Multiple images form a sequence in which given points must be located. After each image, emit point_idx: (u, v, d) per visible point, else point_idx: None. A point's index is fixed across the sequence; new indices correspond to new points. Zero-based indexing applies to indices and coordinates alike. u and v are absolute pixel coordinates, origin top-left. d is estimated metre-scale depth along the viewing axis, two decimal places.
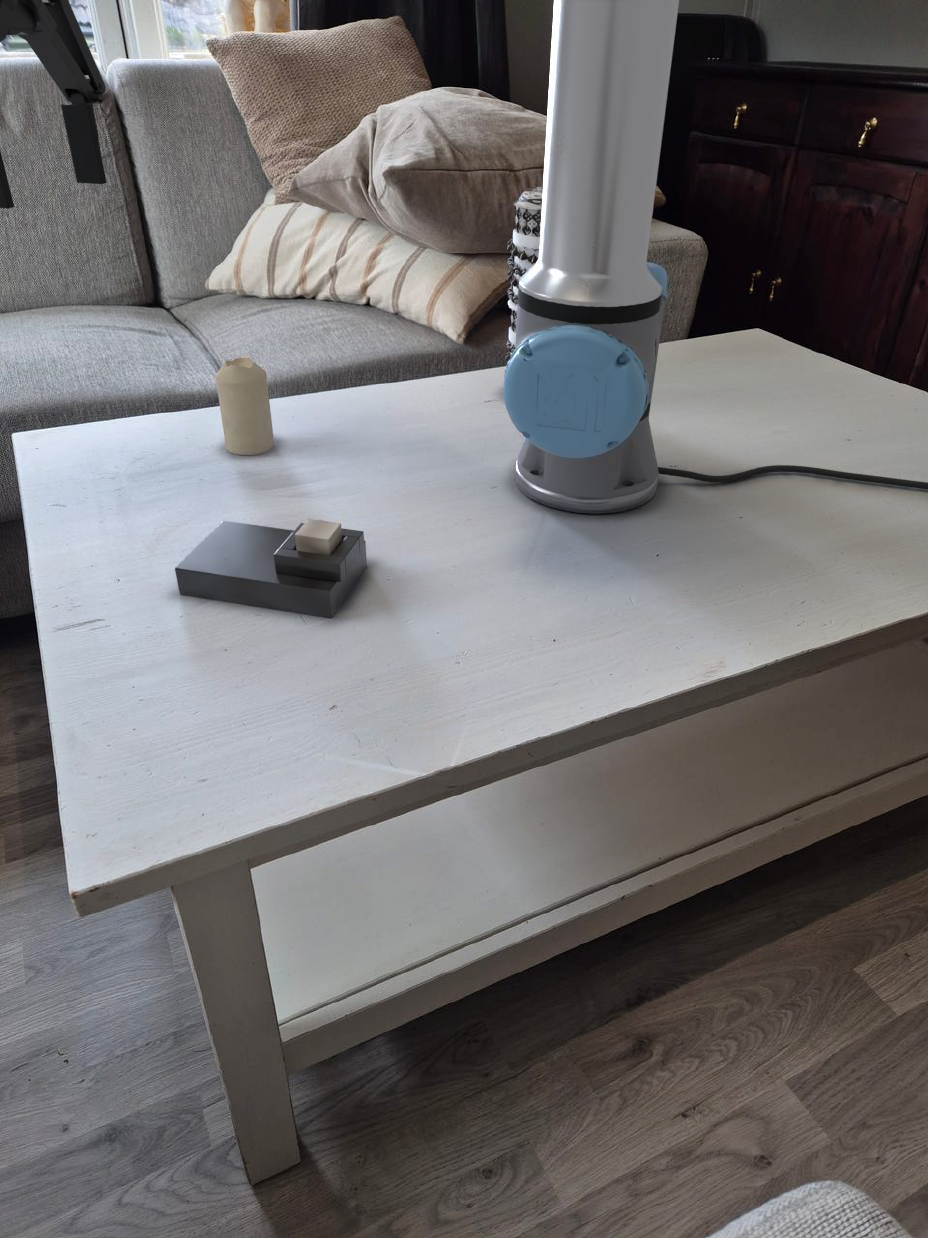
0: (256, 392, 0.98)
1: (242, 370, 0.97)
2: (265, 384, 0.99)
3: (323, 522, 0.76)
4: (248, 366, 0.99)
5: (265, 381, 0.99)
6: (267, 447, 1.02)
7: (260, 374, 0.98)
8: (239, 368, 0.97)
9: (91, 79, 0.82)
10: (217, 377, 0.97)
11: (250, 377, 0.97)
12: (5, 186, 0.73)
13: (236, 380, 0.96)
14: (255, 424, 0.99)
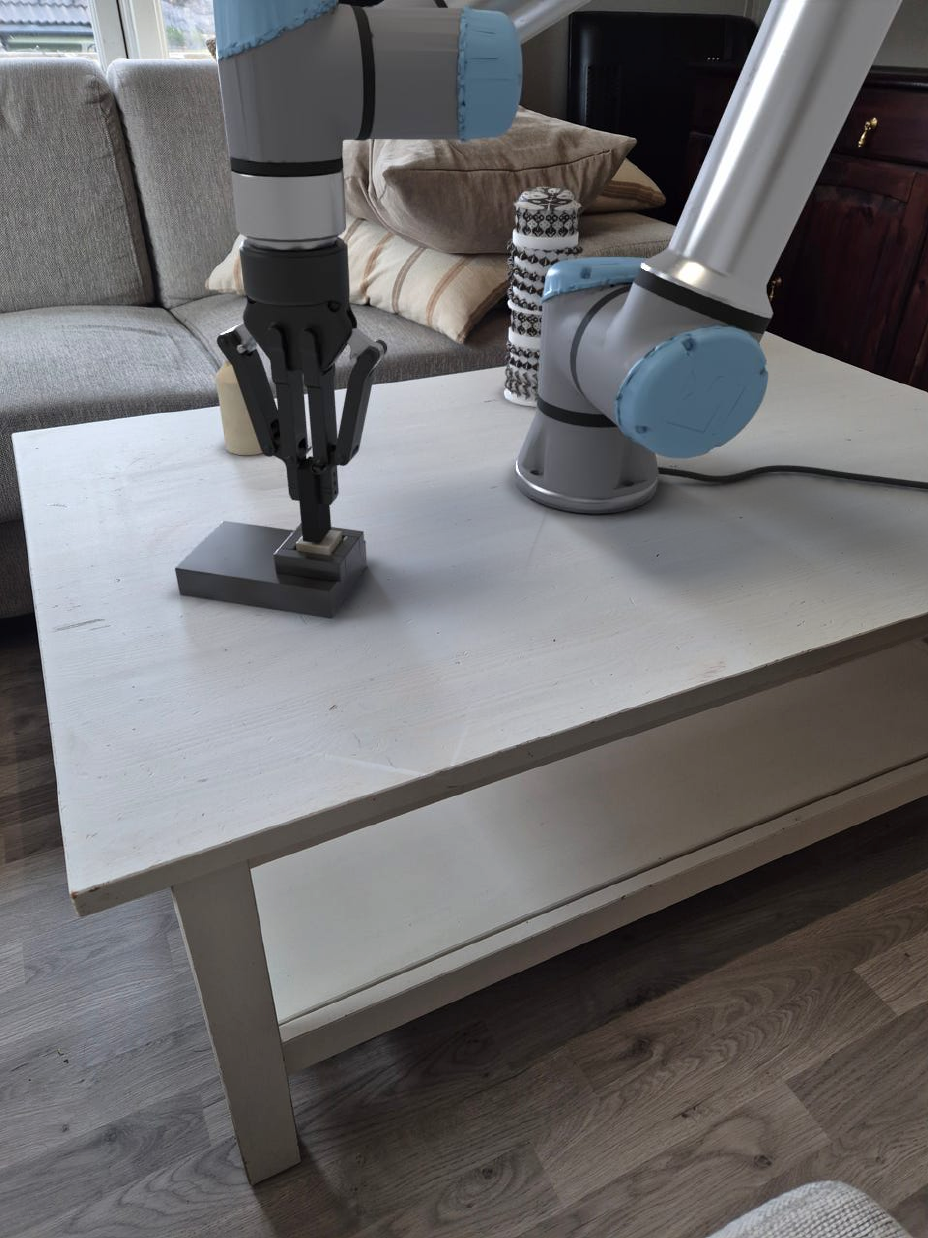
0: None
1: None
2: None
3: None
4: None
5: None
6: None
7: None
8: None
9: (337, 444, 0.69)
10: (217, 377, 0.97)
11: None
12: (304, 524, 0.73)
13: (236, 380, 0.96)
14: None
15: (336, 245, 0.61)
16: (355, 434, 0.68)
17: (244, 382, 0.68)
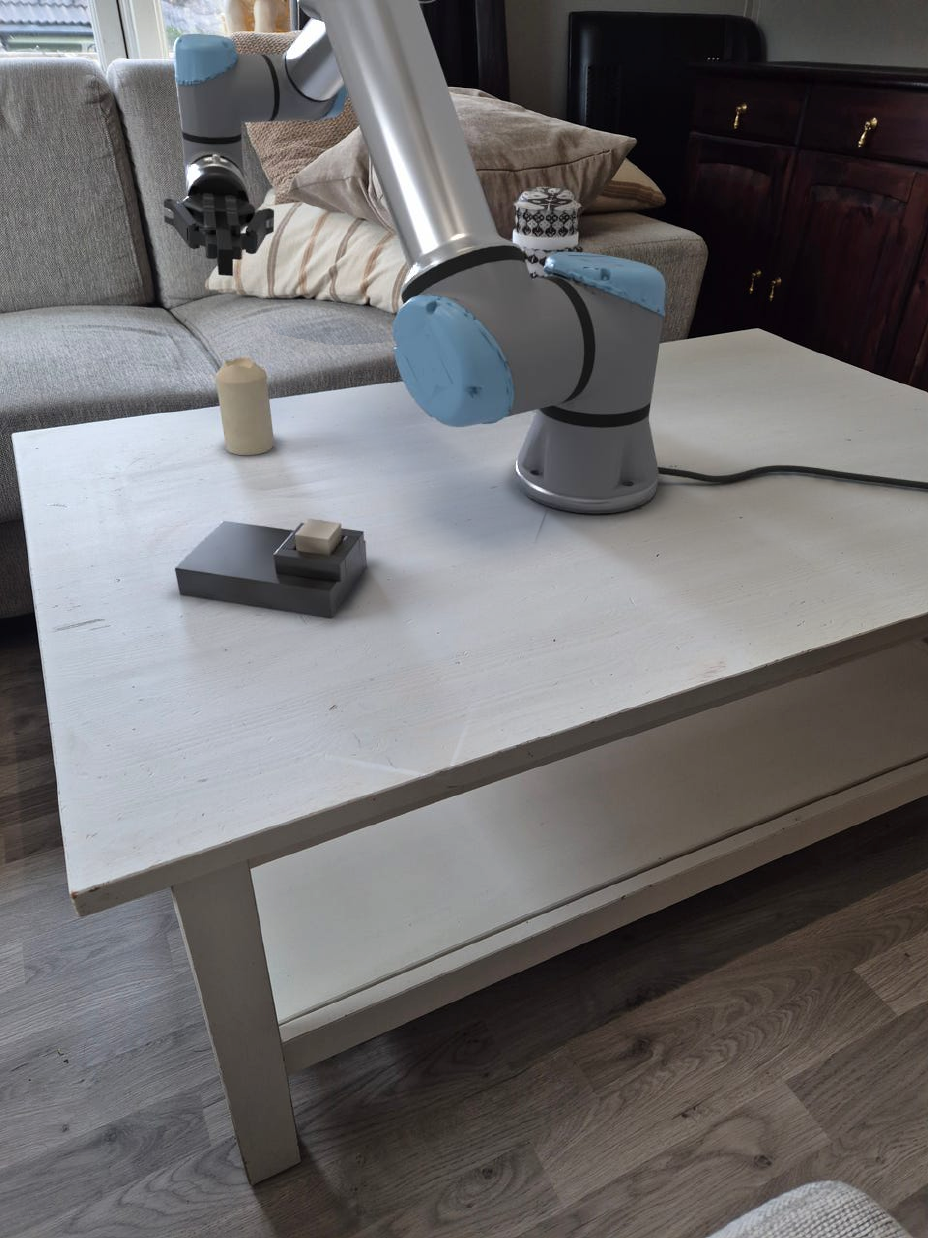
0: (255, 392, 0.98)
1: (242, 370, 0.97)
2: (265, 384, 0.99)
3: (323, 522, 0.76)
4: (248, 366, 0.99)
5: (265, 381, 0.99)
6: (267, 447, 1.02)
7: (260, 374, 0.98)
8: (239, 368, 0.97)
9: None
10: (217, 377, 0.97)
11: (250, 377, 0.97)
12: None
13: (236, 380, 0.96)
14: (255, 424, 0.99)
15: None
16: (183, 235, 1.00)
17: None
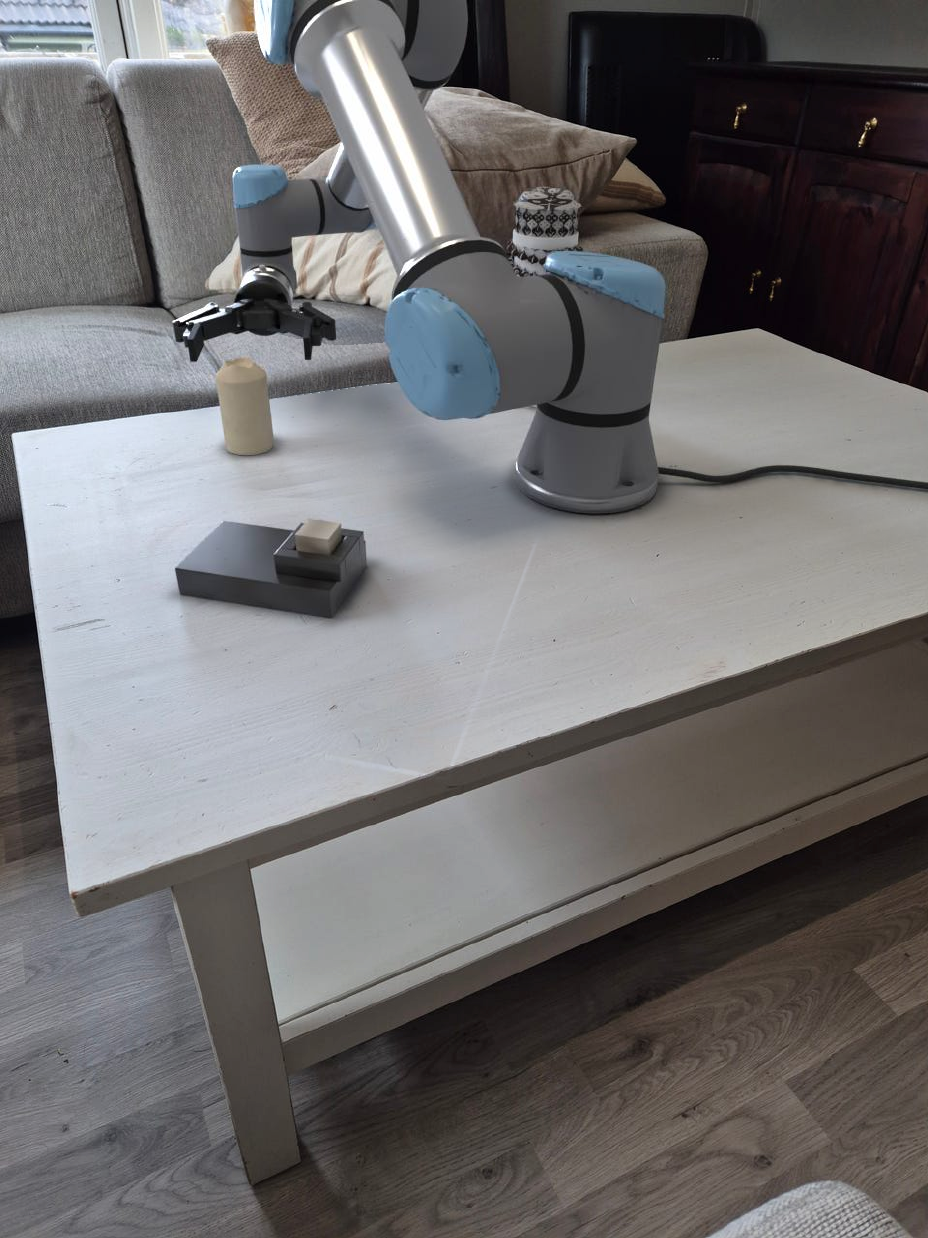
0: (255, 392, 0.98)
1: (242, 370, 0.97)
2: (265, 384, 0.99)
3: (323, 522, 0.76)
4: (248, 366, 0.99)
5: (265, 381, 0.99)
6: (267, 447, 1.02)
7: (260, 374, 0.98)
8: (239, 368, 0.97)
9: None
10: (217, 377, 0.97)
11: (250, 377, 0.97)
12: None
13: (236, 380, 0.96)
14: (255, 424, 0.99)
15: None
16: None
17: None
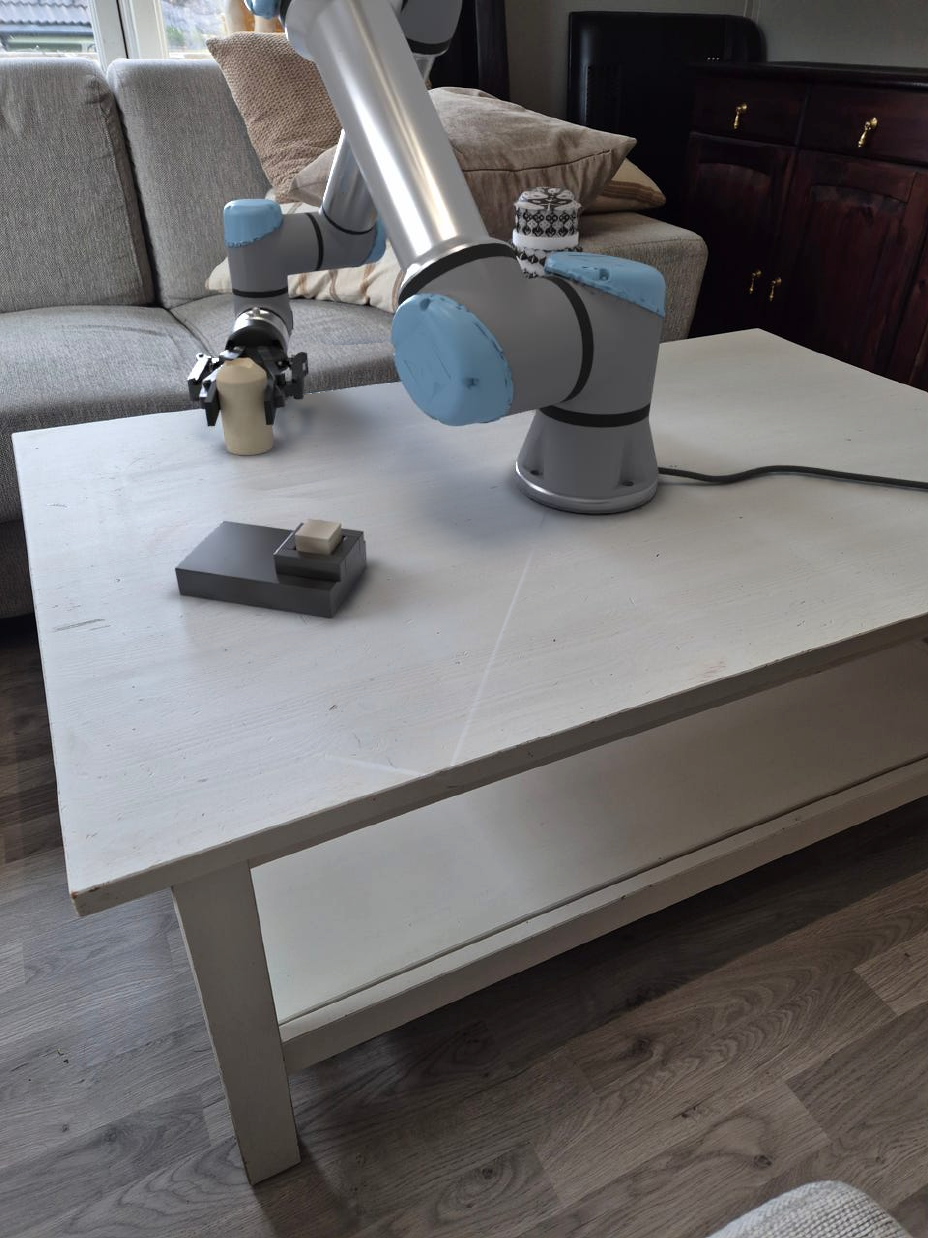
0: (255, 392, 0.98)
1: (242, 370, 0.97)
2: (265, 384, 0.99)
3: (323, 522, 0.76)
4: (248, 366, 0.99)
5: (265, 381, 0.99)
6: (267, 447, 1.02)
7: (260, 374, 0.98)
8: (239, 368, 0.97)
9: None
10: (217, 377, 0.97)
11: (250, 377, 0.97)
12: None
13: (236, 380, 0.96)
14: (255, 424, 0.99)
15: None
16: None
17: None
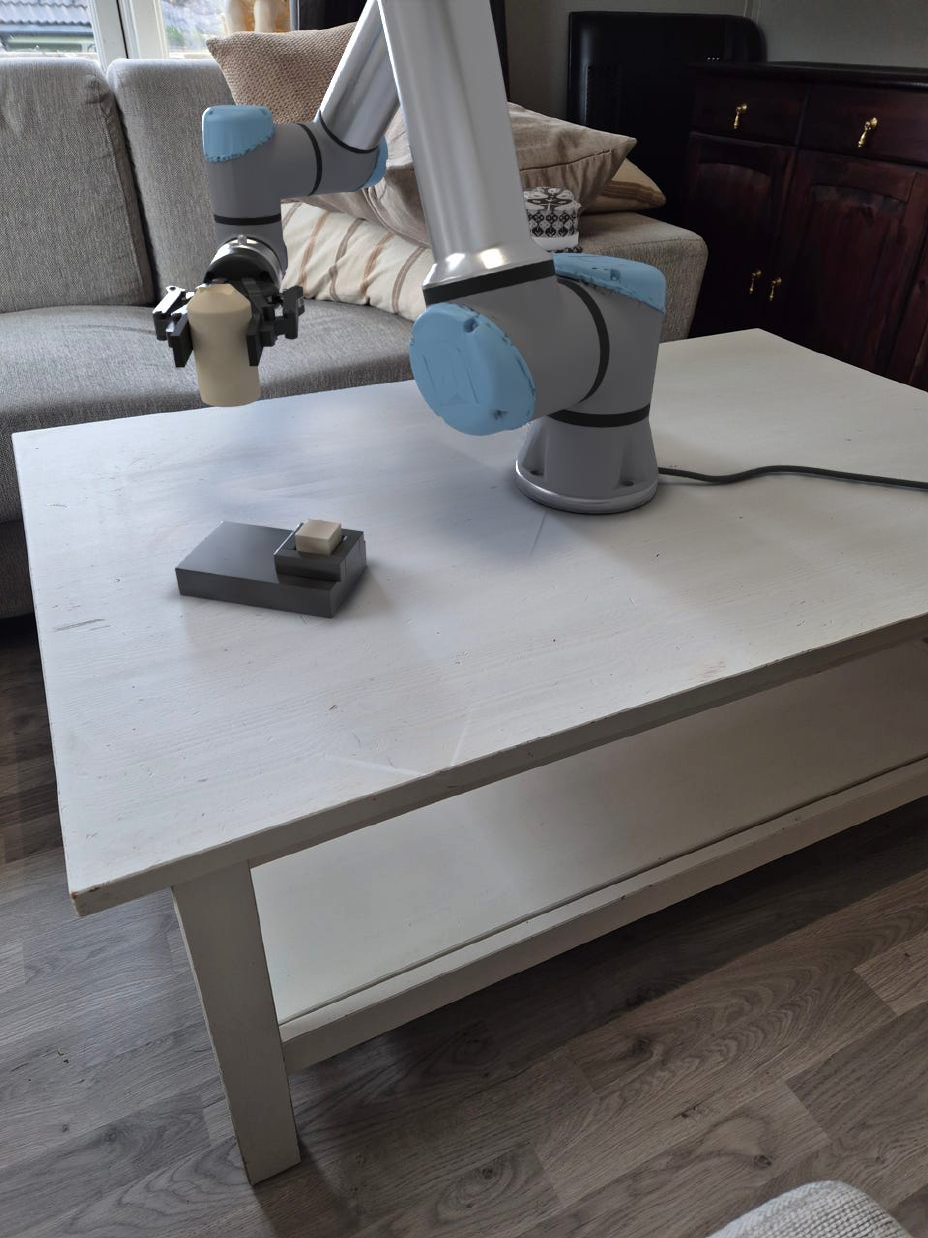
0: (237, 326, 0.78)
1: (219, 297, 0.77)
2: (249, 317, 0.79)
3: (323, 522, 0.76)
4: (227, 294, 0.78)
5: (249, 313, 0.79)
6: (252, 398, 0.82)
7: (243, 304, 0.78)
8: (215, 294, 0.77)
9: None
10: (188, 306, 0.77)
11: (230, 307, 0.77)
12: None
13: (211, 310, 0.76)
14: (236, 367, 0.79)
15: None
16: None
17: None
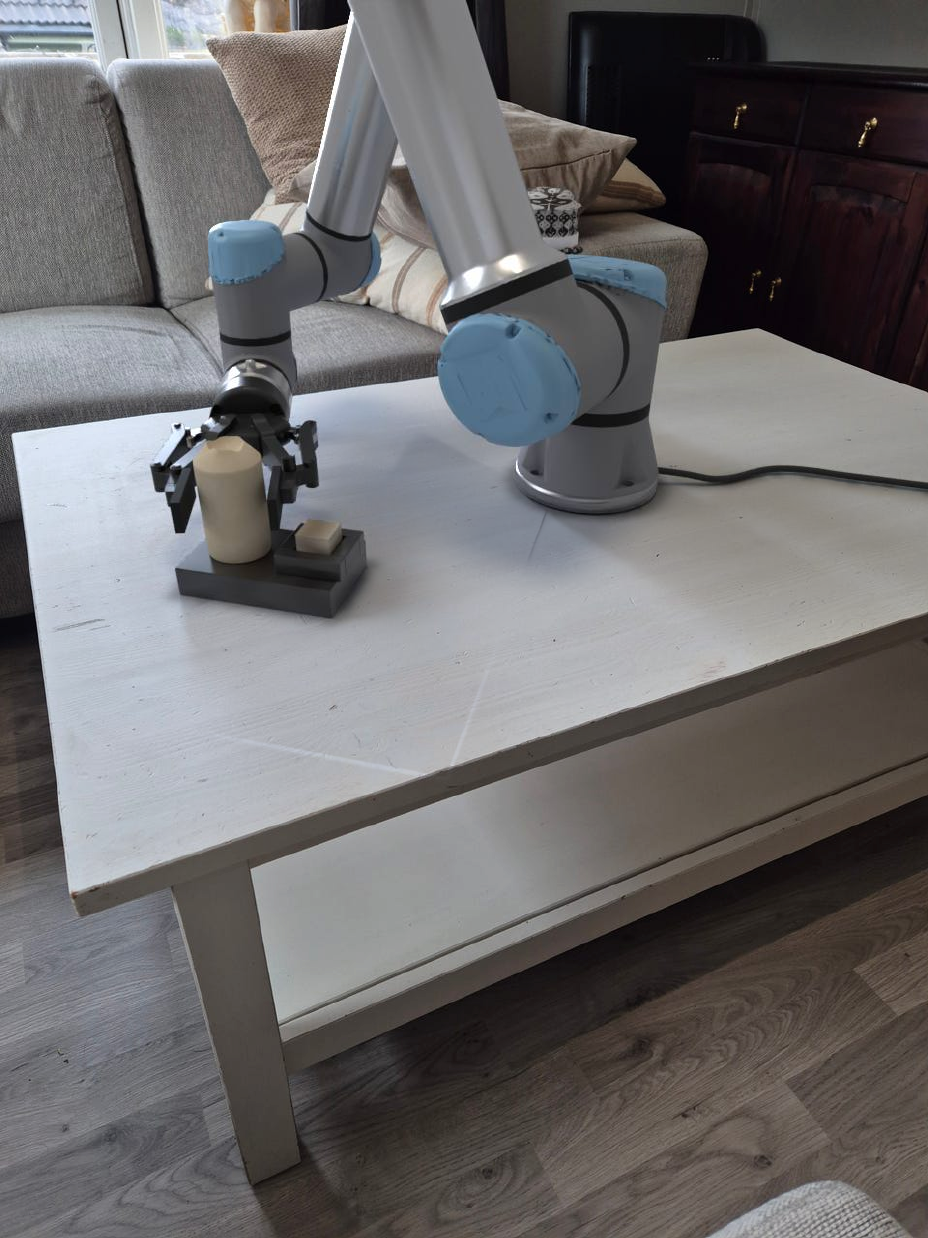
0: (247, 484, 0.73)
1: (228, 455, 0.72)
2: (260, 472, 0.74)
3: (323, 522, 0.76)
4: (237, 448, 0.73)
5: (260, 468, 0.73)
6: (262, 552, 0.77)
7: (253, 460, 0.73)
8: (224, 453, 0.71)
9: None
10: (195, 464, 0.72)
11: (240, 465, 0.72)
12: None
13: (220, 470, 0.71)
14: (246, 524, 0.74)
15: None
16: None
17: None
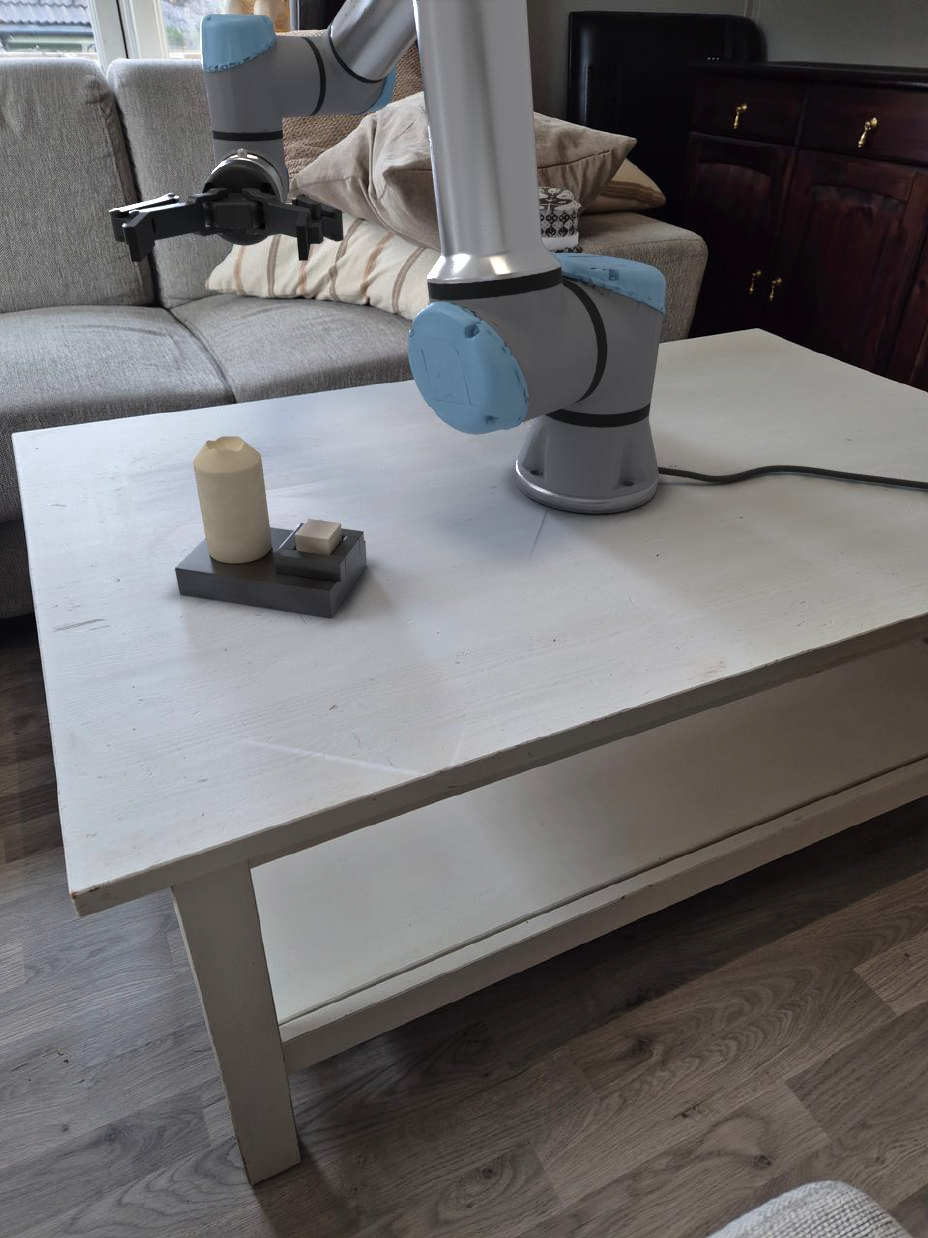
0: (247, 484, 0.73)
1: (228, 455, 0.72)
2: (260, 472, 0.74)
3: (323, 522, 0.76)
4: (237, 448, 0.73)
5: (260, 468, 0.73)
6: (262, 552, 0.77)
7: (253, 460, 0.73)
8: (224, 453, 0.71)
9: None
10: (195, 464, 0.72)
11: (240, 465, 0.72)
12: None
13: (220, 470, 0.71)
14: (246, 524, 0.74)
15: None
16: None
17: None
